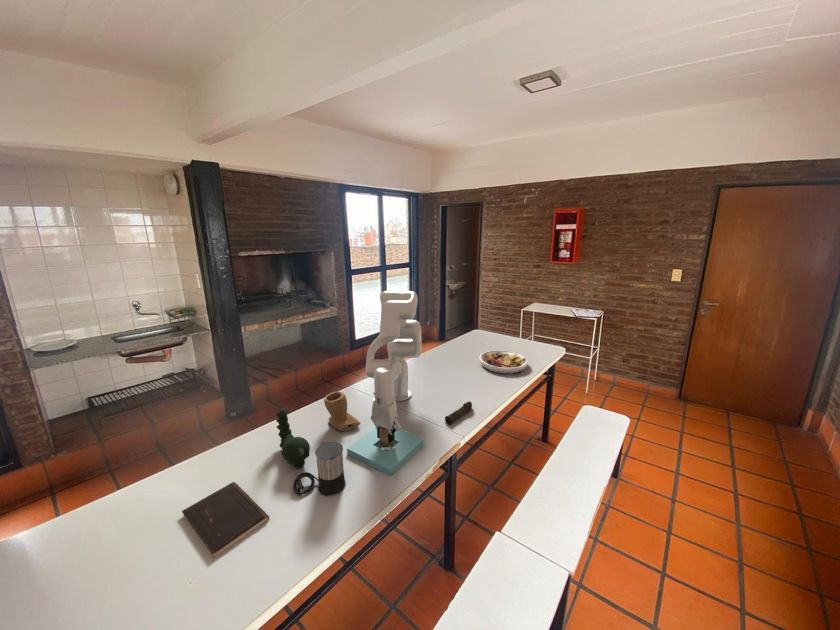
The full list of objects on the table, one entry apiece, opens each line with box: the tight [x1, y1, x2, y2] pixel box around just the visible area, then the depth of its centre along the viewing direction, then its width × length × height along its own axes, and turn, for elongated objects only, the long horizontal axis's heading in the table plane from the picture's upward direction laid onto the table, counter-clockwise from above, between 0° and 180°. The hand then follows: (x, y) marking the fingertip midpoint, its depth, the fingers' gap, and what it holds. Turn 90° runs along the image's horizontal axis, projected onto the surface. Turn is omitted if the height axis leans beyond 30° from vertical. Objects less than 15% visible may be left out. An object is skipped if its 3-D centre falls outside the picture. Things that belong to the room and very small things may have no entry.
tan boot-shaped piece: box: [323, 391, 361, 432], centre depth 150 cm, size 15×12×15 cm
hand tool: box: [444, 401, 473, 426], centre depth 158 cm, size 19×4×5 cm, turn 134°
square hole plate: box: [346, 426, 425, 477], centre depth 135 cm, size 22×22×2 cm
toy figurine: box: [275, 408, 311, 469], centre depth 128 cm, size 9×19×25 cm
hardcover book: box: [181, 481, 270, 558], centre depth 103 cm, size 16×23×2 cm
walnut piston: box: [379, 426, 393, 448], centre depth 133 cm, size 5×5×8 cm
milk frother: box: [292, 440, 346, 497], centre depth 113 cm, size 14×16×15 cm
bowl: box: [479, 349, 528, 374], centre depth 215 cm, size 30×30×8 cm
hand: (385, 438), depth 134 cm, fingers closed on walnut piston, 5 cm apart
